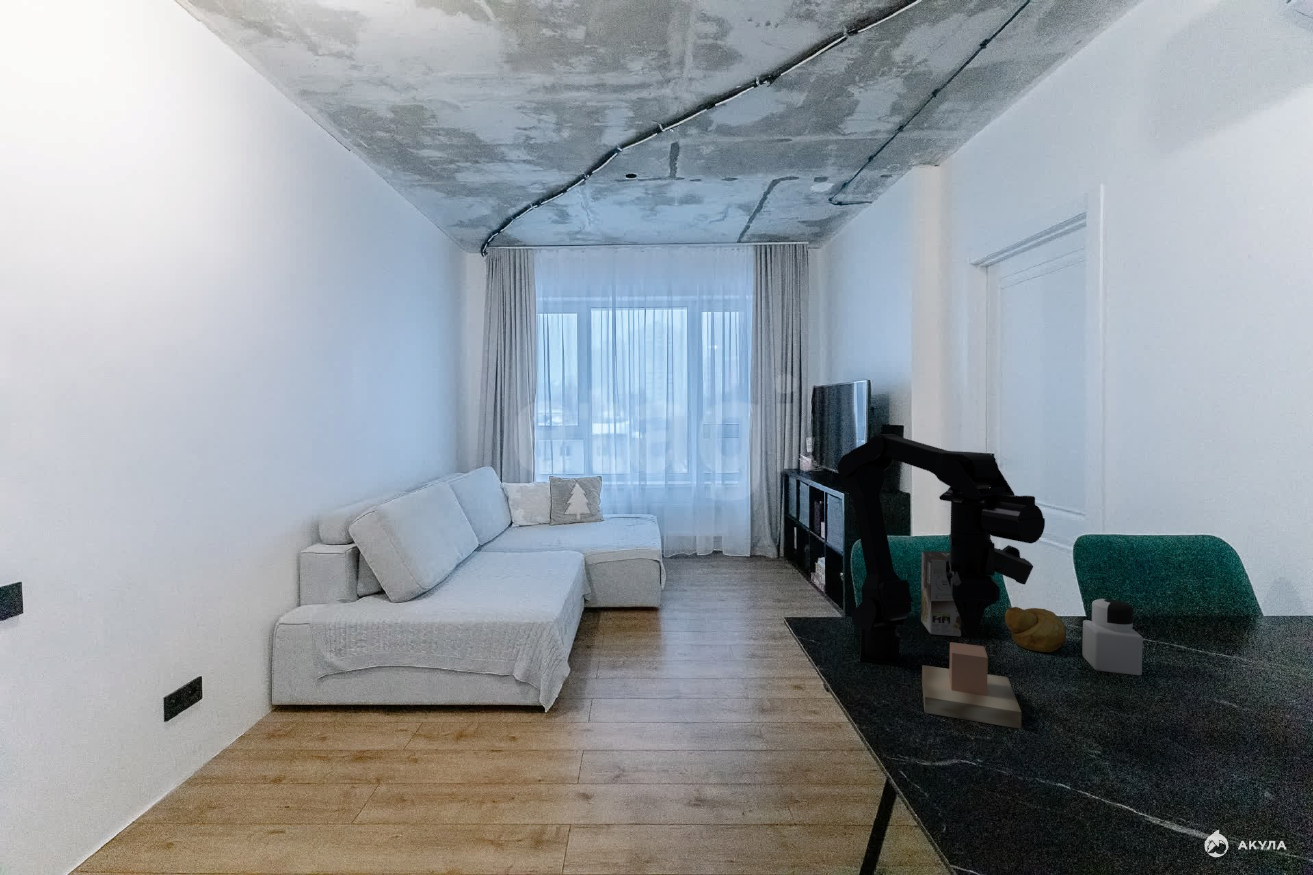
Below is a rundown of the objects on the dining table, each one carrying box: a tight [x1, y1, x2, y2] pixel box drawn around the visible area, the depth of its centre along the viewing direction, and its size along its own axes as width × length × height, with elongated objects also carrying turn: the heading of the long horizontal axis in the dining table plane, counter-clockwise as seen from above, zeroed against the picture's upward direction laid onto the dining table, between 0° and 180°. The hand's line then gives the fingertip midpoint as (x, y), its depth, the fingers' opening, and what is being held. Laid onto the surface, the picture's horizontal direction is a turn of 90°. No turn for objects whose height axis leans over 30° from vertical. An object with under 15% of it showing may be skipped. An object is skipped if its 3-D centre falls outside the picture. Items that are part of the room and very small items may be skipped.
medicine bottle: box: [1081, 598, 1144, 676], centre depth 112 cm, size 7×7×12 cm
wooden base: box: [921, 664, 1022, 730], centre depth 98 cm, size 13×13×2 cm
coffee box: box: [920, 550, 962, 637], centre depth 132 cm, size 9×6×16 cm
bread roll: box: [1004, 606, 1067, 653], centre depth 123 cm, size 13×10×8 cm
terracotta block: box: [948, 641, 989, 696], centre depth 98 cm, size 5×5×6 cm
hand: (968, 628), depth 98 cm, fingers open, 9 cm apart
